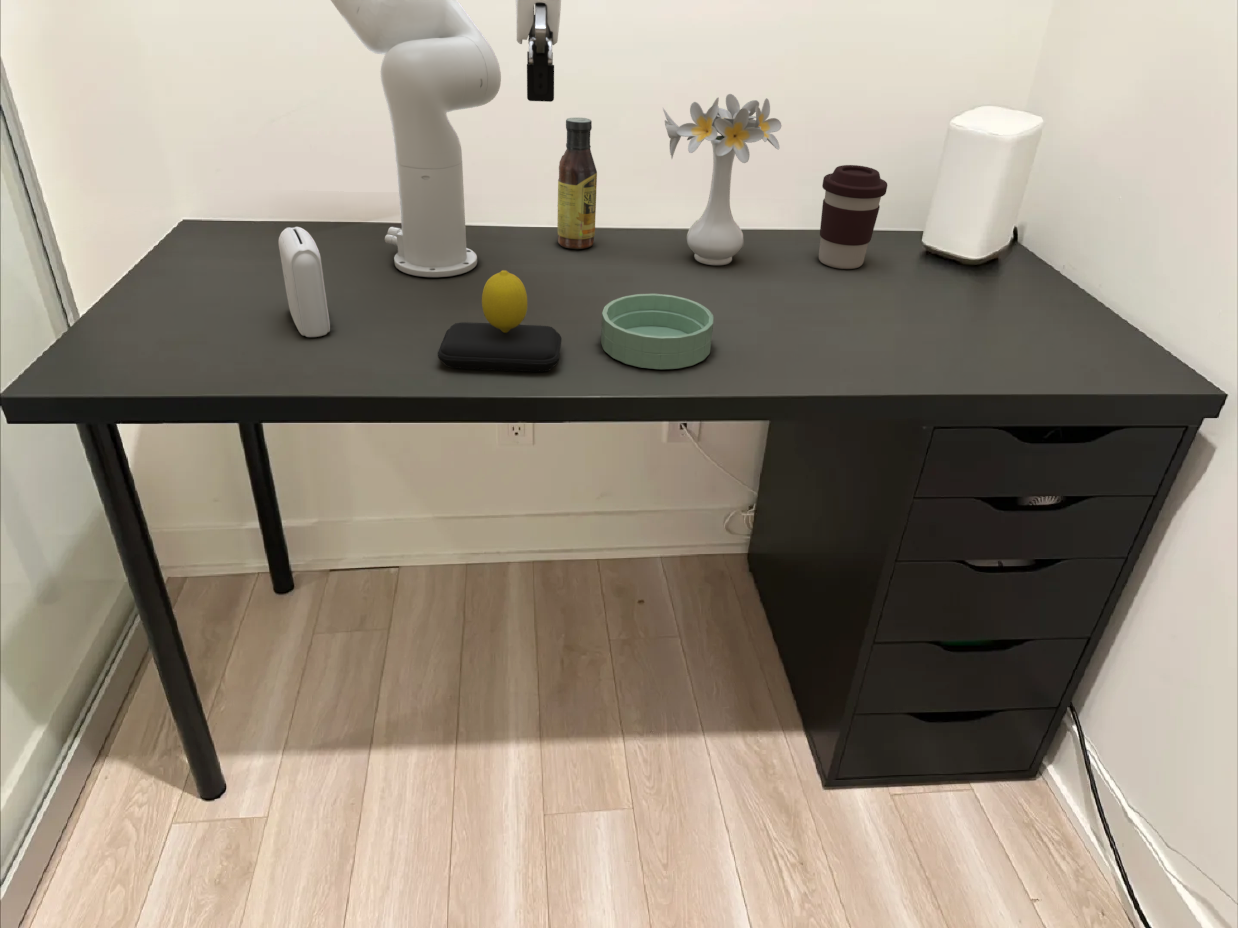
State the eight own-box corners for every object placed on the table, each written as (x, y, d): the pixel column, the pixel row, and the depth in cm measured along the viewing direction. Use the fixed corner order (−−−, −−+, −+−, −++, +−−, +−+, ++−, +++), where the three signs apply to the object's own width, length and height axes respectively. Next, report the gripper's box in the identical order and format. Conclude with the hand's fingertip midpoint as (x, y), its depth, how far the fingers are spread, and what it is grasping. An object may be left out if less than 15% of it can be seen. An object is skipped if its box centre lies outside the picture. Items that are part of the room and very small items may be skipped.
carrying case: (562, 340, 117) (450, 335, 116) (562, 318, 115) (448, 313, 115) (557, 377, 108) (435, 372, 107) (558, 354, 106) (434, 349, 106)
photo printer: (287, 310, 120) (272, 220, 114) (319, 306, 122) (306, 217, 115) (299, 340, 113) (284, 246, 106) (334, 336, 114) (321, 242, 108)
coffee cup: (879, 260, 149) (898, 169, 140) (858, 277, 141) (877, 182, 133) (823, 248, 153) (838, 158, 145) (800, 263, 146) (815, 170, 138)
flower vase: (645, 248, 149) (655, 88, 135) (750, 245, 152) (770, 89, 139) (664, 276, 138) (677, 106, 124) (776, 272, 141) (800, 106, 128)
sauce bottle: (589, 252, 145) (593, 125, 135) (552, 248, 146) (553, 122, 136) (598, 240, 151) (602, 117, 140) (562, 236, 152) (564, 113, 141)
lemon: (492, 344, 107) (490, 281, 103) (476, 327, 111) (474, 265, 107) (534, 337, 110) (534, 275, 105) (517, 320, 114) (516, 260, 109)
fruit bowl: (582, 354, 113) (583, 322, 111) (629, 316, 124) (630, 286, 122) (685, 380, 108) (689, 347, 106) (725, 338, 119) (728, 307, 117)
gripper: (508, -72, 108) (511, 79, 118) (504, -66, 94) (508, 106, 103) (570, -68, 109) (568, 81, 118) (575, -62, 95) (573, 108, 104)
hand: (540, 92), depth 111 cm, fingers open, 9 cm apart
